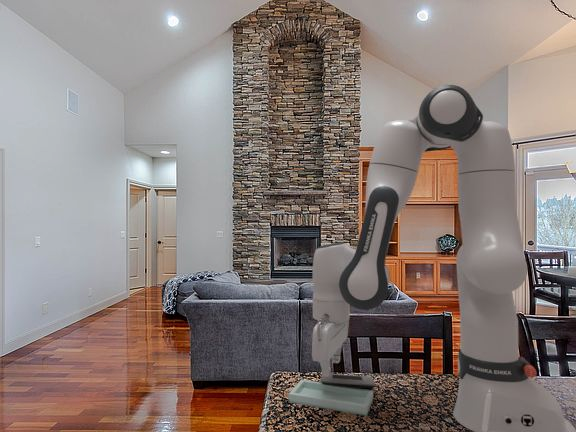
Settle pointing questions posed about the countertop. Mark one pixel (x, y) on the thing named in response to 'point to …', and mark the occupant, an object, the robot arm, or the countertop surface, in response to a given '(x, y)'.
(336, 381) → the electrical outlet
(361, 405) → the parts tray
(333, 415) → the countertop surface
